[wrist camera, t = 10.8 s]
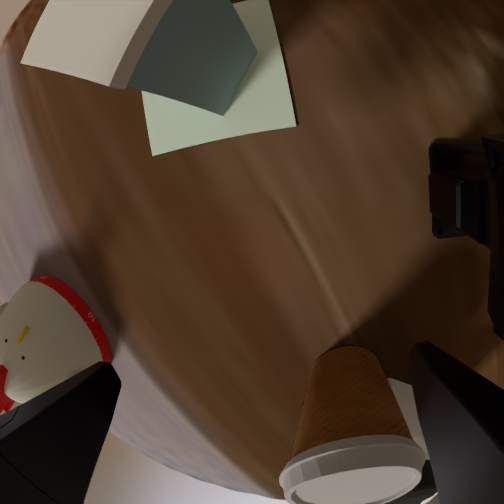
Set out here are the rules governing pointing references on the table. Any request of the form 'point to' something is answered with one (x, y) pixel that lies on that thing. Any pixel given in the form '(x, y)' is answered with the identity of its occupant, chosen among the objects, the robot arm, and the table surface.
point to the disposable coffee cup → (350, 436)
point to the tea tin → (147, 47)
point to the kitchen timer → (45, 340)
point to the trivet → (243, 102)
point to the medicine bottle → (426, 487)
